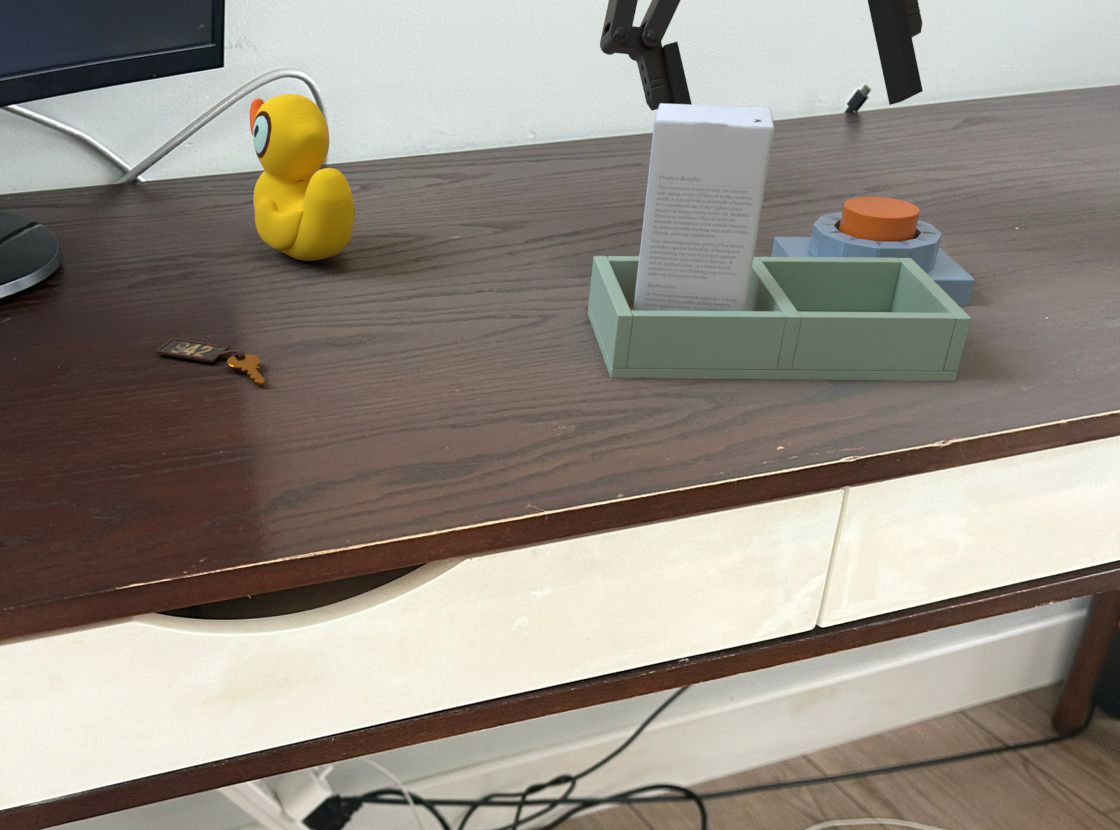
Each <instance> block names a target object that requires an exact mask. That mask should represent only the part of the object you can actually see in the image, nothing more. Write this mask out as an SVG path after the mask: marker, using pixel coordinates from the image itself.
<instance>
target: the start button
mask: <svg viewBox="0 0 1120 830" xmlns="http://www.w3.org/2000/svg"><path fill="white" fill-rule="evenodd" d="M842 211H843V212H842ZM842 211H841V212H842V217H841V222H840V226H839V232H841V233H844V234H847V235H849V236H852V237H855V238H859V239H865V240H871V241H878V242H902V241H907V240H911V239H914V235H915V231H916V227H917V223H918V220H919V219H920V215H921V214H920V213H921V210H920V207H918V205H915V204H913V203H912V202H909V201H905V200H902V199H898V198H894V197H893V198H892V197H886V196H858V197H853V198H850V199H847V200H846V201H845V202H844V203H843V207H842Z"/></svg>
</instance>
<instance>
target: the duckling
mask: <svg viewBox="0 0 1120 830" xmlns="http://www.w3.org/2000/svg"><path fill="white" fill-rule="evenodd" d="M249 125H250V126H249V128H250V132H251V135H252V139H253V146H254V151H255V153H256V156H257V159H258V161H259V163H260V165H261V166H262V168H263V172H262V173H261V174H260V175H259V177H258V179H257V180H256V183H255V186H254V190H253V198H252V199H253V202H252V203H253V209H254V223H255V228H256V231H257V233H258V235H259V237H260V239H261V241H263V242H264V243H266V244H267V245H268V246H270V247H271V248H272V249H273V250H276V251H278V252H280V253H283V254H285V255H286V256H289V257H291V258H293V259H295V260H297V261H303V262H314V261H319V260H325V259H328V258H332V257H334V256H336V255H338V254H339V253H341V252H342V251H343V250H344V249H346V247H347V245H349V243H350V241H351V239H352V236H353V232H354V222H355V216H356V215H355V212H356V211H355V203H354V197H353V193H352V188H351V186H350V184H349V182H348V179H347V178H346V176H345V175H344V174H343V172H341V171H340V170H339V169H337V168H333V167H326V168H322V166H323V165H324V163H325V161H326V159H327V156H328V153H329V149H330V132H329V127H328V123H327V120H326V118H325V115H324V113H323V112H322V110H321V109H320V107H319V106H318V105H317V104H316V103H315V102H314V101H313V100H311V99H310V98H308V97H307V96H304V95H303V94H302V95H301V94H296V93H284V94H280V95H276V96H273V97H271V98H269V99H268V100H266V101H264V100H263V99H262V98H255V99H253V100H252V102H251V104H250V107H249ZM320 168H322V169H320Z"/></svg>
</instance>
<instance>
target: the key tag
mask: <svg viewBox="0 0 1120 830" xmlns="http://www.w3.org/2000/svg"><path fill="white" fill-rule="evenodd" d="M155 354H157V355H162V356H169V357H176V358H180V359H181V358H182V359H188V360H193V361H198V362H199V361H200V362H207V363H214V362H216V361H217V360H218V359H219V358H225V359H227V360H226V365H227V366H228V367H229V368H230V369H233V370H236V371H240V372H241V373H242V374H244V373H246V377H249V379H250V381H253V382H254V384H255V385H259V386H265V384H266V380H265V378H264V377H263V376H262V375H261V373H260V372H259V370H260V365H261V359H260V358H259V356H257V355H254V354H249V353H245V352H244V350H243V349H242V350H241V349H230V346H229V345H222V344H217V343H212V342H211V343H209V342H203V341H197V340H191V339H184V338H179V337H172V338H170V339H169V340H167V341H166V342H164V343H163V344H162V345H161V346H159V347H158V348H157V349H156V350H155Z"/></svg>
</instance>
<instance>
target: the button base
mask: <svg viewBox="0 0 1120 830" xmlns="http://www.w3.org/2000/svg"><path fill="white" fill-rule="evenodd" d="M842 212H843V210H842V211H838V212H833V213H827V214H823V215H821V216H820V217H818V218H817V220H816V221H815V222H814V223H813V224H812V228H811V229H812V230H811V235H810V236H774V238H773V244H772V249H771V250H772V251H771V255H770V257H866V258H911V259H912V260H913V261H914V262H915V263H916V264H917V265H918V266H919V267H920V268H921V269H922V270H923V271H924V272H926V273H927V274H928V275H929V276H930V277H931V278H932V279H933V280H934V281H935V282H936V283H937V284H938V285H939V286H940V287H941V288H942V289H943V290H944V291H945V292H946V293H947V294H948V295H949V296H950V297H951V298H952V299H953V300H954V301H955V302H956V303H957V304H958V305H959V306H960V307H967V306H969V304H970V301H971V296H972V294H973V290H974V286H975V283H976V280H975V278H974V277H973V276H971V274H969V272H968V271H966V270H965V269H964V268H963V267H962V266H961V265H960V264H959V263H957V262H956V260H955V259H953V258H952V257H951V256H950V255H949V254H948V253H947V252H946V251H945V250H944V249H942V247H940V246H941V242H942V238H943V233H942V232H941V231H940V230H939V229H938V228H936V227H935V226H934V225H933V224H931V223H928V222H926V221H922V220H919V219H918V223H917V227H916V231H915V235H914V239H911V240H907V241H902V242H878V241H871V240H865V239H859V238H855V237H852V236H849V235H847V234H844V233H841V232H839V226H840V222H841V217H842Z"/></svg>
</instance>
